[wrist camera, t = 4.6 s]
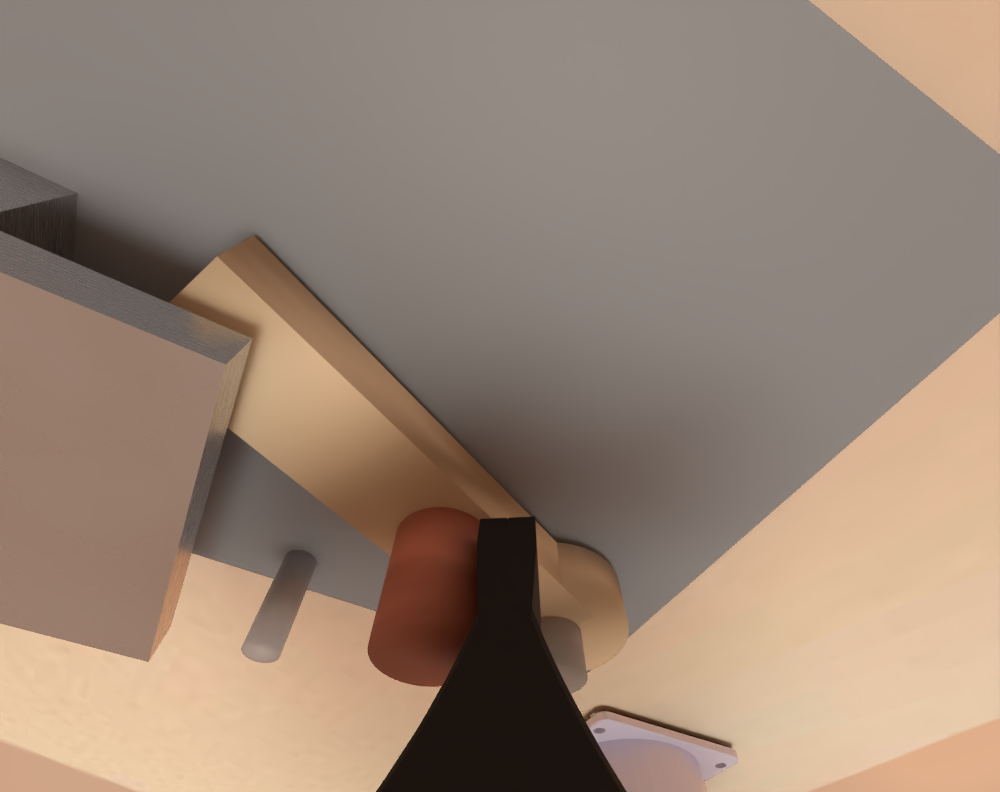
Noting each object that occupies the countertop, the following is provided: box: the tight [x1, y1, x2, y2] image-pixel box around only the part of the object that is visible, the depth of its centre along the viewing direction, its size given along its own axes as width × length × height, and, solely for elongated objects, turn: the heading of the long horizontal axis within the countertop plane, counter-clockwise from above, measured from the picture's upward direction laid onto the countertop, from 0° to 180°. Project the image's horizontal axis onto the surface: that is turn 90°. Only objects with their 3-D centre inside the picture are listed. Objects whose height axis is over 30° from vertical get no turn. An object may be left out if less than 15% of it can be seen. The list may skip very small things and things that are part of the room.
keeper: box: [0, 158, 252, 662], centre depth 12 cm, size 10×6×4 cm, turn 152°
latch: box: [170, 235, 629, 693], centre depth 12 cm, size 15×5×4 cm, turn 37°
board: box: [0, 0, 1000, 673], centre depth 11 cm, size 19×21×4 cm
